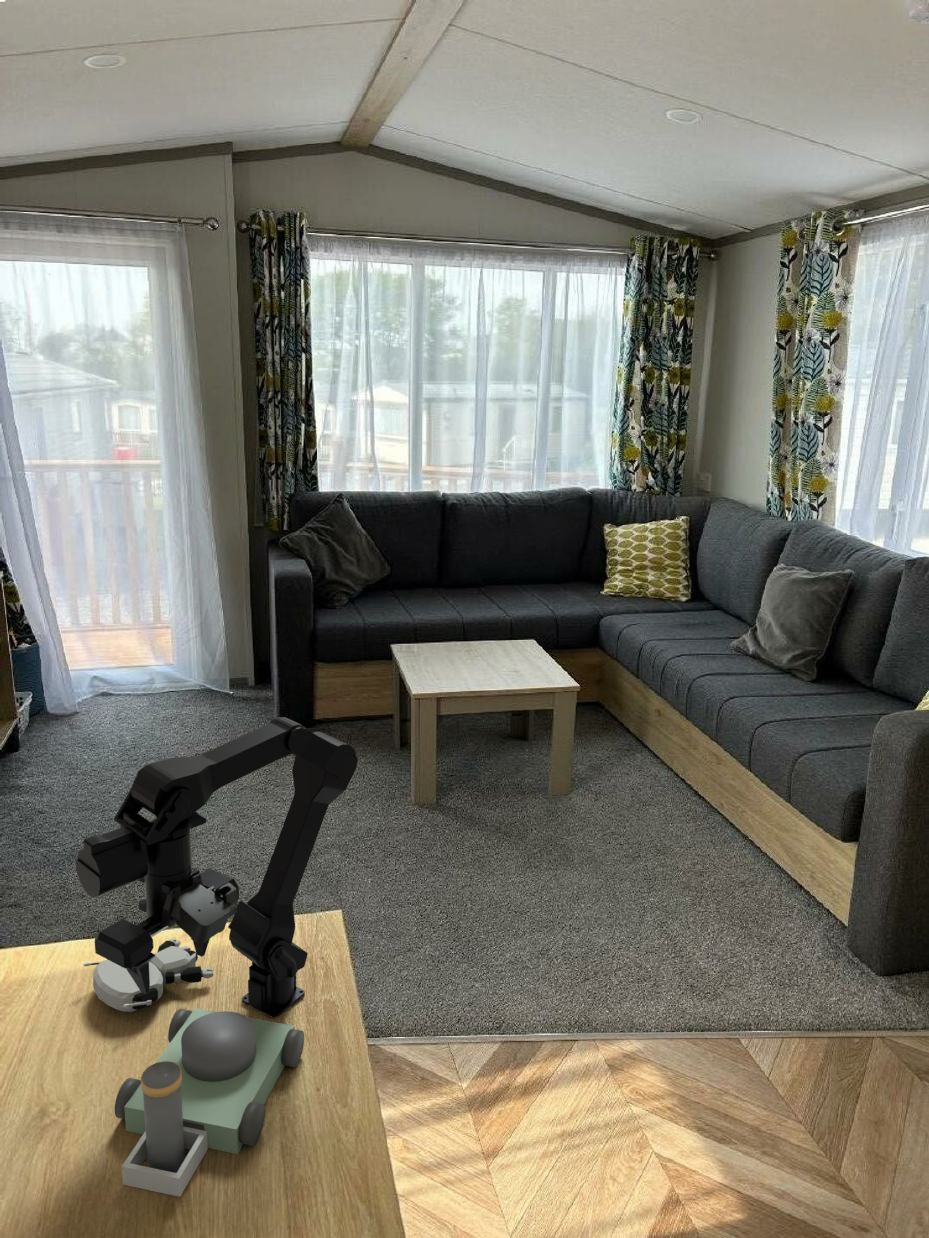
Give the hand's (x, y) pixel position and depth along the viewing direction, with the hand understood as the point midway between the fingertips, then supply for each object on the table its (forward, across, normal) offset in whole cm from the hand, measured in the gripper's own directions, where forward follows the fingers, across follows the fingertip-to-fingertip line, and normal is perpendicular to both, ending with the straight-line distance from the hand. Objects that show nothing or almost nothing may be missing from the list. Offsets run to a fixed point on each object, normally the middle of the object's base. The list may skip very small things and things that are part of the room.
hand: (173, 973), depth 126 cm
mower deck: (+12, -5, -10) cm, 16 cm away
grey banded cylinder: (+12, -13, -13) cm, 22 cm away
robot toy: (+12, +7, +13) cm, 19 cm away
